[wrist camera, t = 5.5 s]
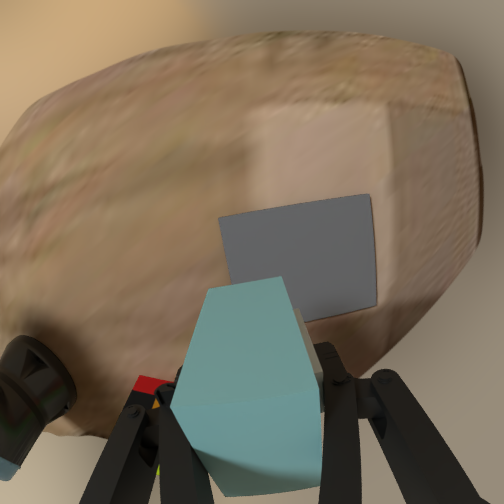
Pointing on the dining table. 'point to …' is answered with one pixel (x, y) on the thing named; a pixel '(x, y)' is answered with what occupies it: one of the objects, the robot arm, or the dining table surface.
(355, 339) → the dining table surface
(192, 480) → the robot arm
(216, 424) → the teal block
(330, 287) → the rubber mat
